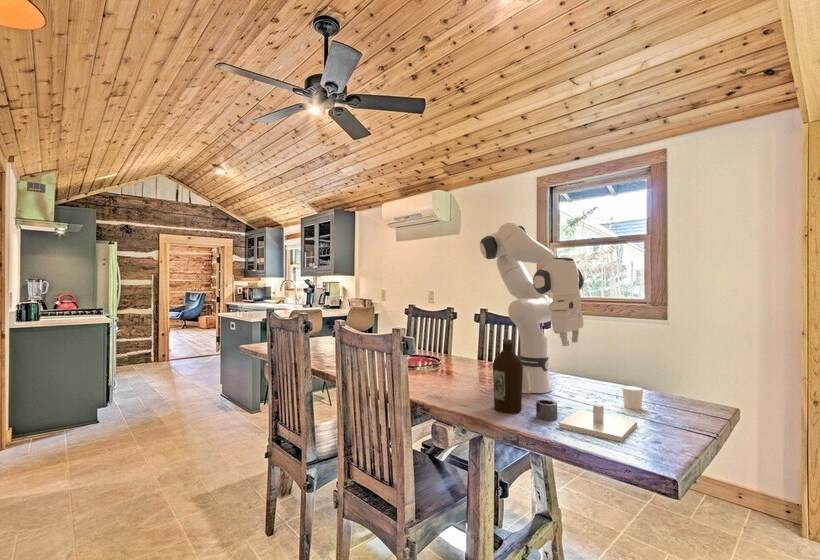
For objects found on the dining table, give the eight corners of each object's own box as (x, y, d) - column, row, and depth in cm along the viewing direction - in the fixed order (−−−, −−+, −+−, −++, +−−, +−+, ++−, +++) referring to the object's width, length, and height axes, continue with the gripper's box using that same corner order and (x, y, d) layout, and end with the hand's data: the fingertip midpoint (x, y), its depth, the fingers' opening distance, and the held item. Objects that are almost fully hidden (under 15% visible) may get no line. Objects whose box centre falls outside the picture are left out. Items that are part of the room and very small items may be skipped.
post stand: (559, 427, 129) (559, 406, 129) (579, 413, 142) (579, 395, 142) (621, 442, 117) (621, 419, 117) (637, 425, 130) (636, 405, 130)
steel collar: (533, 417, 138) (533, 402, 138) (541, 412, 143) (541, 398, 143) (552, 421, 134) (552, 406, 134) (560, 416, 139) (559, 402, 139)
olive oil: (510, 403, 154) (510, 337, 154) (529, 412, 144) (529, 340, 144) (486, 407, 150) (486, 338, 150) (504, 415, 140) (504, 342, 140)
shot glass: (646, 410, 146) (646, 390, 146) (625, 409, 147) (625, 389, 147) (639, 404, 153) (639, 385, 153) (619, 403, 154) (619, 385, 154)
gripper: (568, 302, 150) (571, 340, 149) (546, 305, 134) (550, 348, 134) (586, 301, 146) (589, 340, 145) (566, 304, 130) (569, 348, 129)
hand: (570, 344), depth 139 cm, fingers open, 8 cm apart
